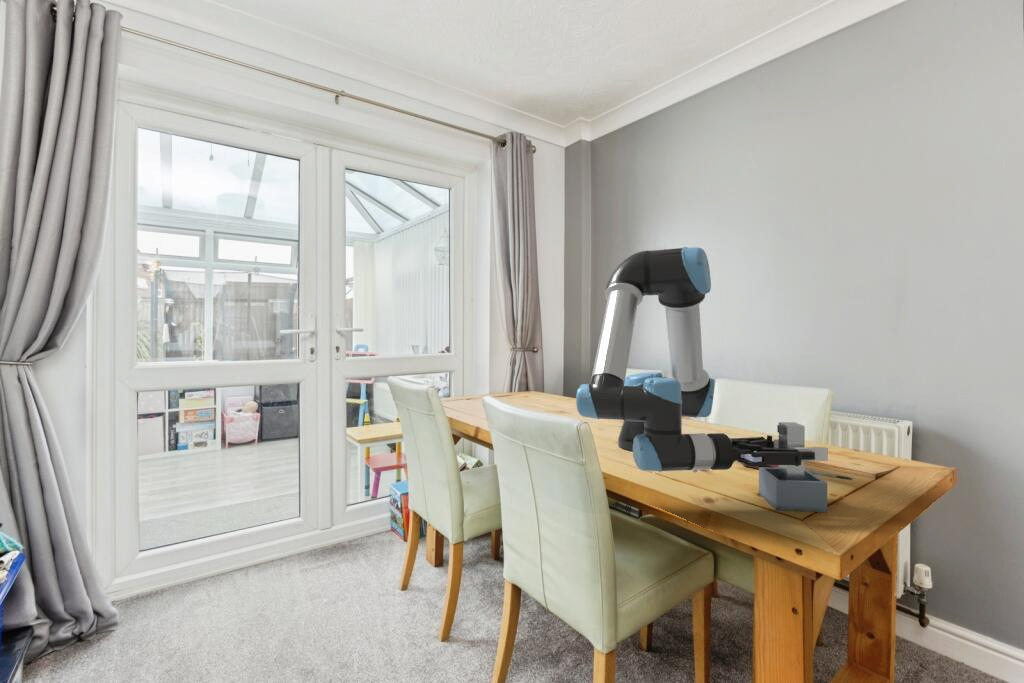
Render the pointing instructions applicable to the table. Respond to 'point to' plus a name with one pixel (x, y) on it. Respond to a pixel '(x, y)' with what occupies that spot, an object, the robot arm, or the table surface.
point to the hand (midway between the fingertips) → (814, 449)
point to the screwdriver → (808, 470)
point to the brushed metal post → (791, 439)
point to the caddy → (793, 491)
